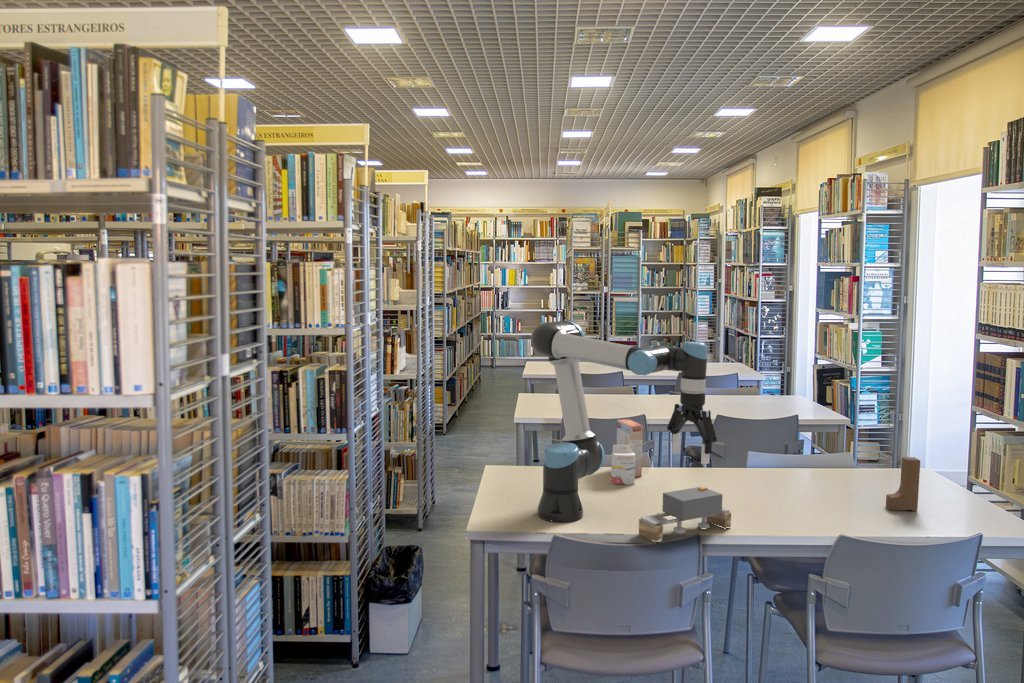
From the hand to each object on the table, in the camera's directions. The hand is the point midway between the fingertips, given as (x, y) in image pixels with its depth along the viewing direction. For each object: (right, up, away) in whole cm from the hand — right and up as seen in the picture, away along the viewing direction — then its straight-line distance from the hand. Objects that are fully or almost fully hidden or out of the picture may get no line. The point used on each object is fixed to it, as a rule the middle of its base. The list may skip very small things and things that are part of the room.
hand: (690, 458), depth 235 cm
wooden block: (+79, -22, +25) cm, 86 cm away
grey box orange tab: (+1, -23, +1) cm, 23 cm away
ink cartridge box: (-13, -18, +54) cm, 58 cm away
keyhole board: (-1, -23, 0) cm, 23 cm away
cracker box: (-9, -17, +69) cm, 71 cm away
